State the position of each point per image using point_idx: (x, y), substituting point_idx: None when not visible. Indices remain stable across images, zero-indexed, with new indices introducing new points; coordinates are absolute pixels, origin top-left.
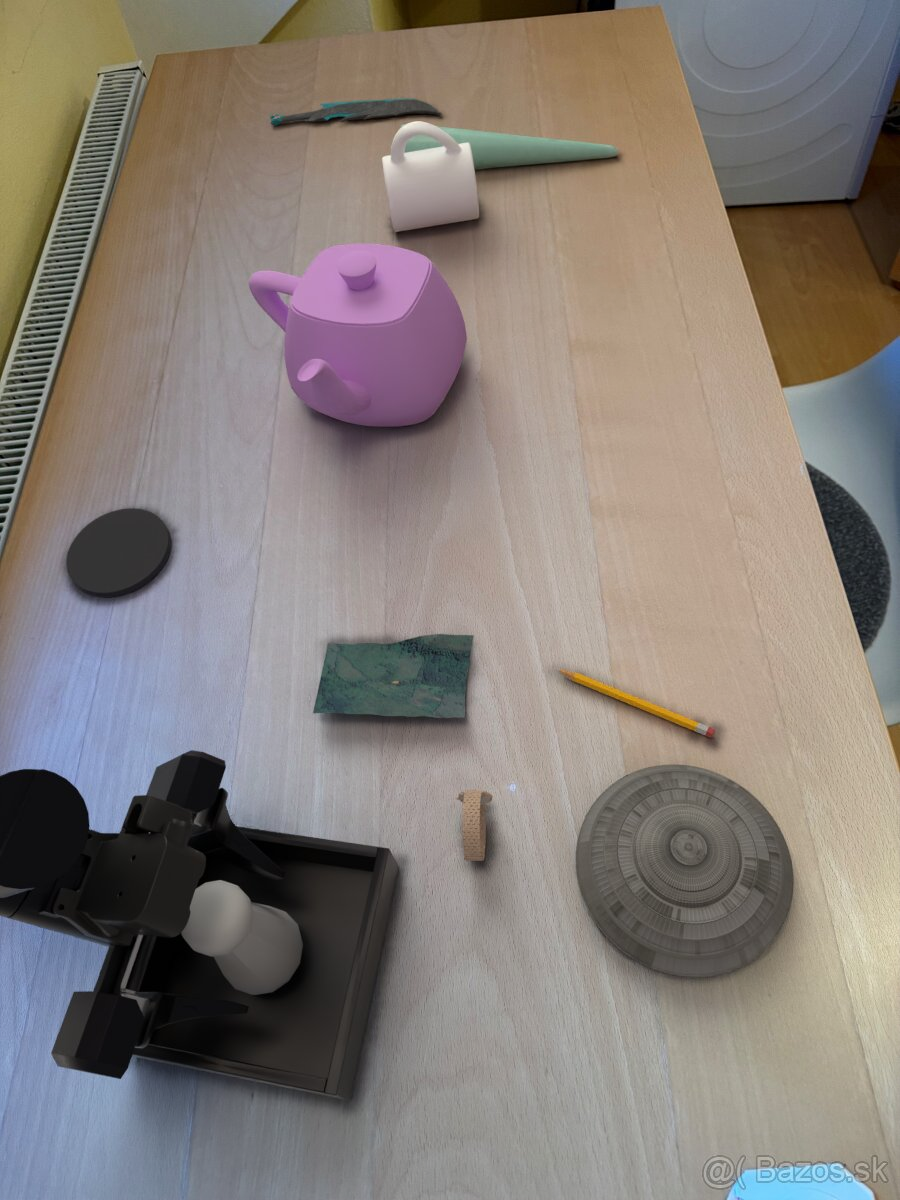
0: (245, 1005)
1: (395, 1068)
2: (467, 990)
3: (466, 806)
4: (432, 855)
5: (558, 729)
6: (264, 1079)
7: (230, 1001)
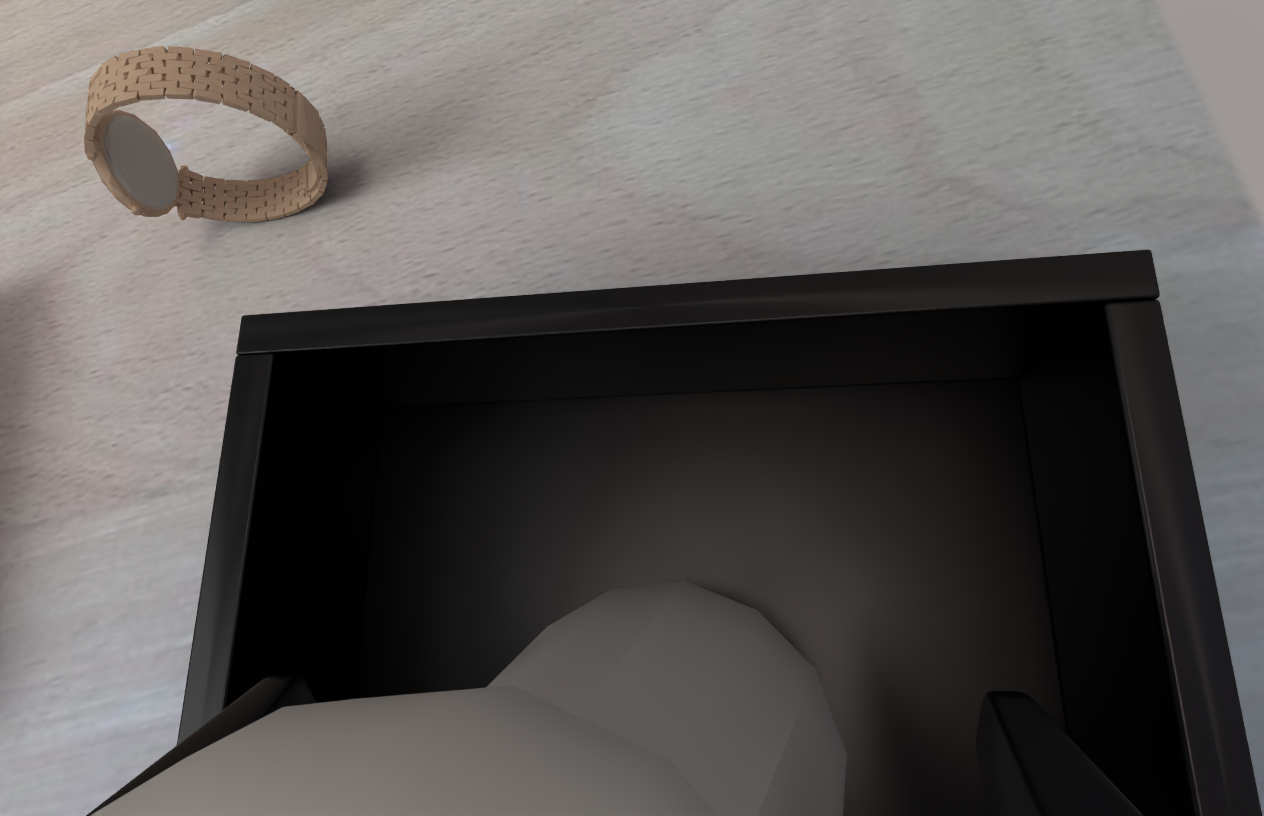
0: (995, 707)
1: (915, 249)
2: (670, 124)
3: (105, 95)
4: (332, 301)
5: (31, 86)
6: (1207, 567)
7: (1041, 805)
